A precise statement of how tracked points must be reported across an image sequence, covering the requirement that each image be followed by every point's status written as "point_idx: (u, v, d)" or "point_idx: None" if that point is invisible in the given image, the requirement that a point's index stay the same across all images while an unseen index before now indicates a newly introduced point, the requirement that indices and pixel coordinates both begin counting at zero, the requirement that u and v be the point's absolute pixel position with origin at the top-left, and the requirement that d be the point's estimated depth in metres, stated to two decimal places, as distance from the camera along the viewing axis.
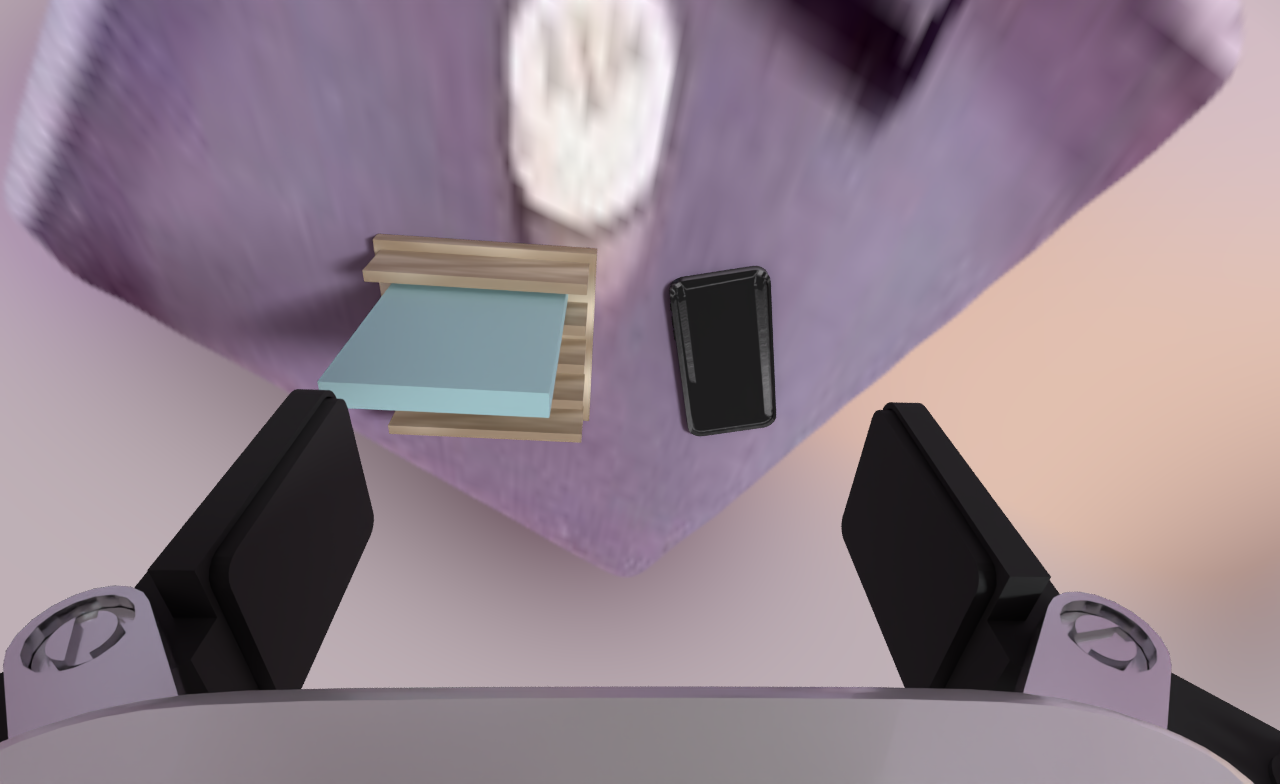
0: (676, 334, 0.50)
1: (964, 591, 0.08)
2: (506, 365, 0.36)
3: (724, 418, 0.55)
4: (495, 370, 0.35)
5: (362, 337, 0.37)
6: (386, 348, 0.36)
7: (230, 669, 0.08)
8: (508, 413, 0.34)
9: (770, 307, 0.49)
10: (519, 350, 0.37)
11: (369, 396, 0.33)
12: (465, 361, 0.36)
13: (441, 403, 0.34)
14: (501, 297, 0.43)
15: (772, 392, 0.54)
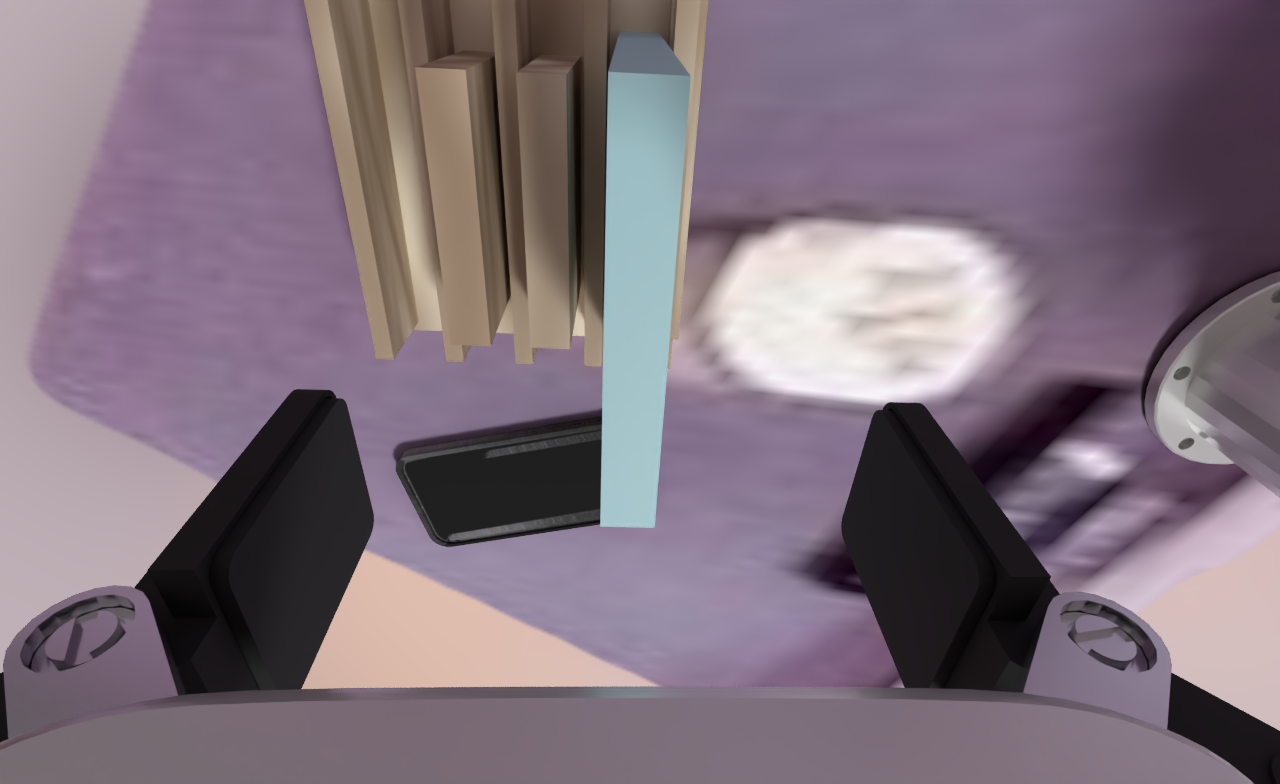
0: (559, 432, 0.37)
1: (964, 591, 0.08)
2: None
3: (433, 494, 0.40)
4: None
5: None
6: None
7: (230, 669, 0.08)
8: (607, 468, 0.17)
9: None
10: None
11: (642, 204, 0.14)
12: None
13: (628, 356, 0.16)
14: None
15: (486, 538, 0.42)
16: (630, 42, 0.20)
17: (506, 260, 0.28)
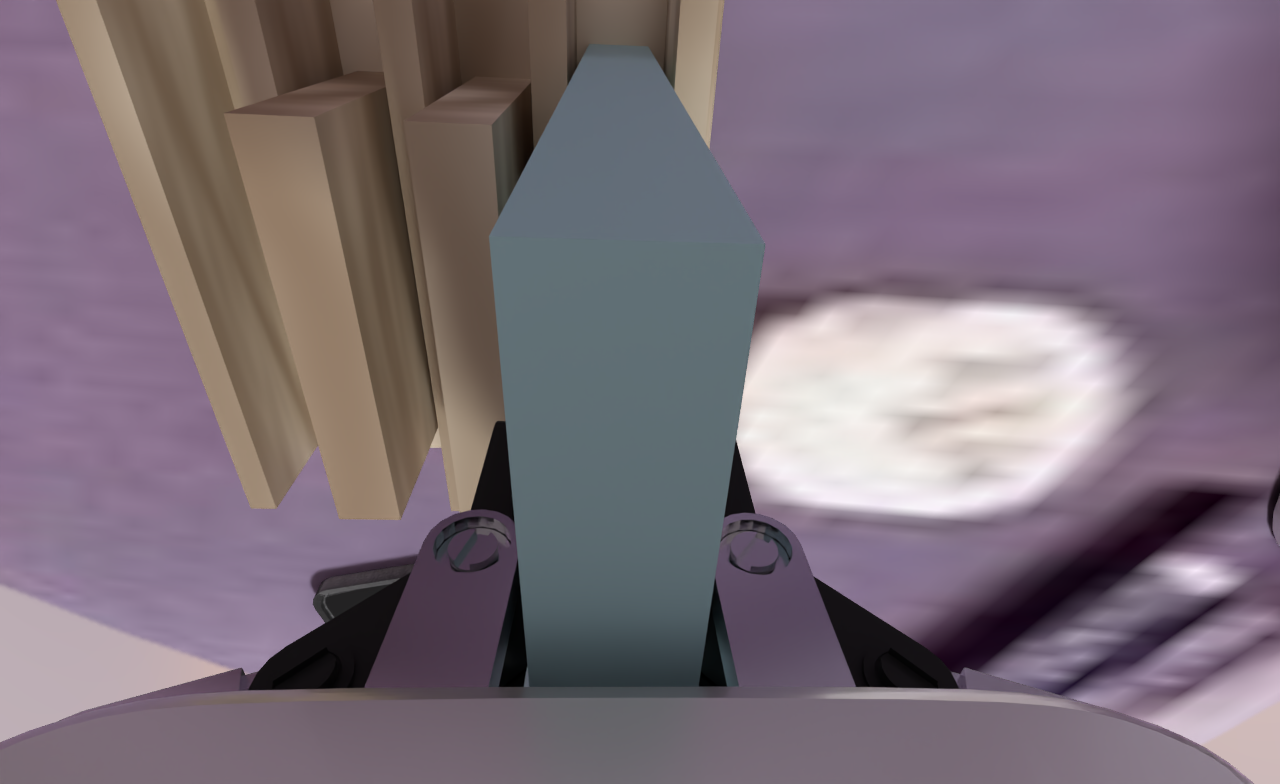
0: None
1: None
2: None
3: None
4: None
5: None
6: None
7: None
8: None
9: None
10: None
11: (619, 548, 0.05)
12: None
13: None
14: None
15: None
16: (599, 71, 0.11)
17: None
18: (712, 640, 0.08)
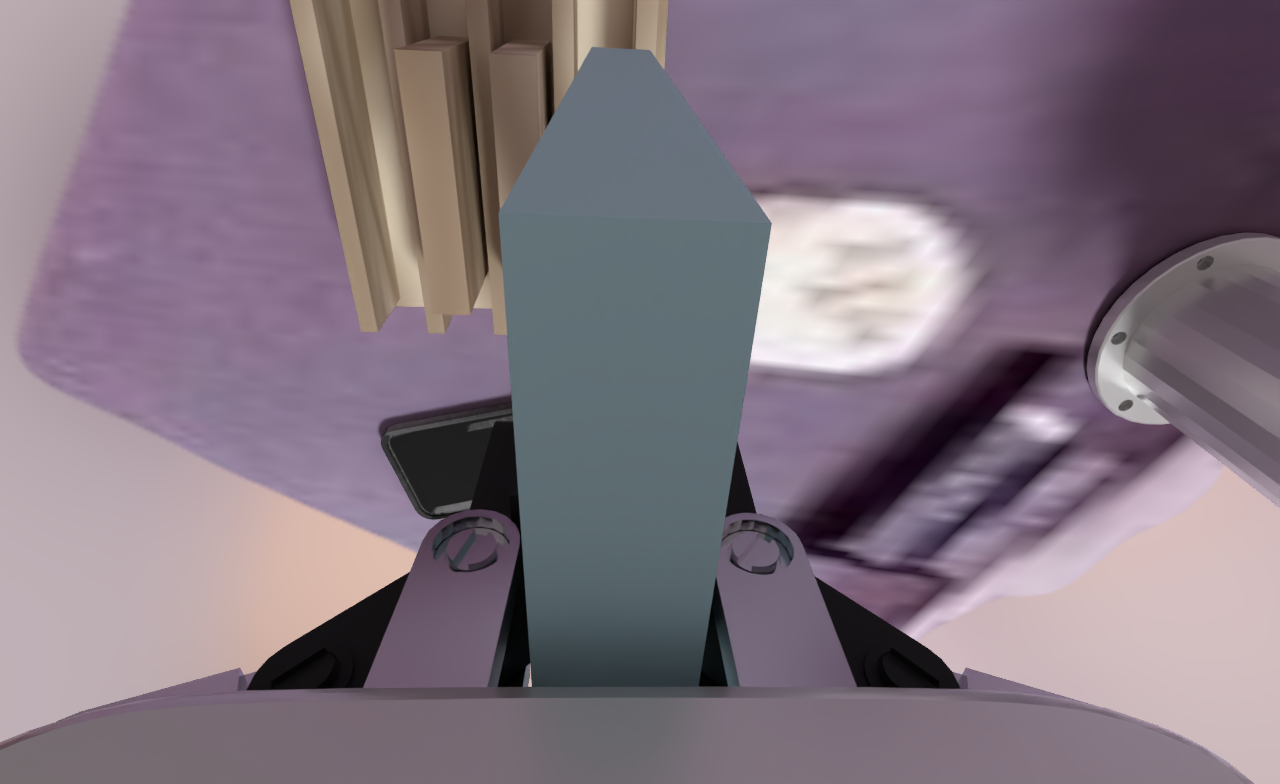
0: None
1: None
2: None
3: (418, 468, 0.41)
4: None
5: None
6: None
7: None
8: None
9: None
10: None
11: (622, 533, 0.05)
12: None
13: None
14: None
15: None
16: (602, 71, 0.11)
17: (483, 236, 0.30)
18: (713, 640, 0.08)
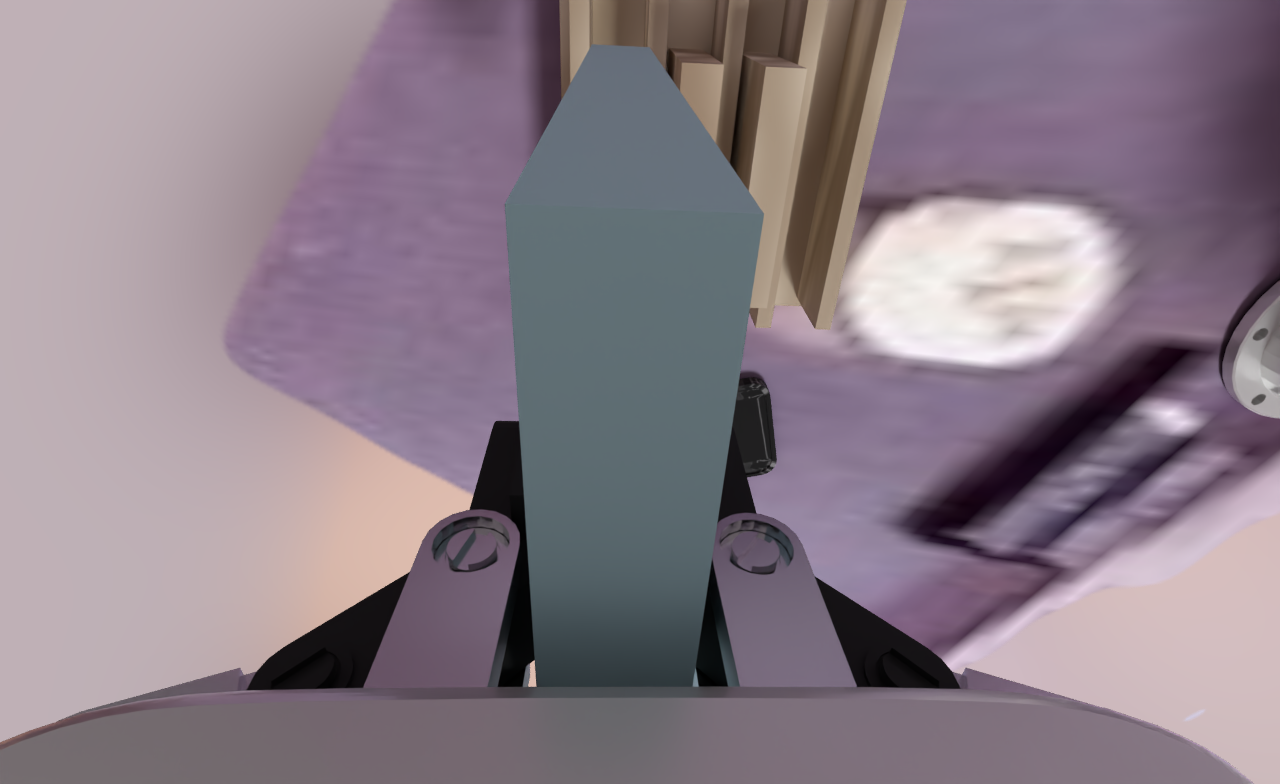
0: None
1: None
2: None
3: None
4: None
5: None
6: None
7: None
8: None
9: None
10: None
11: (623, 513, 0.05)
12: None
13: None
14: None
15: None
16: (602, 68, 0.12)
17: None
18: (713, 640, 0.08)
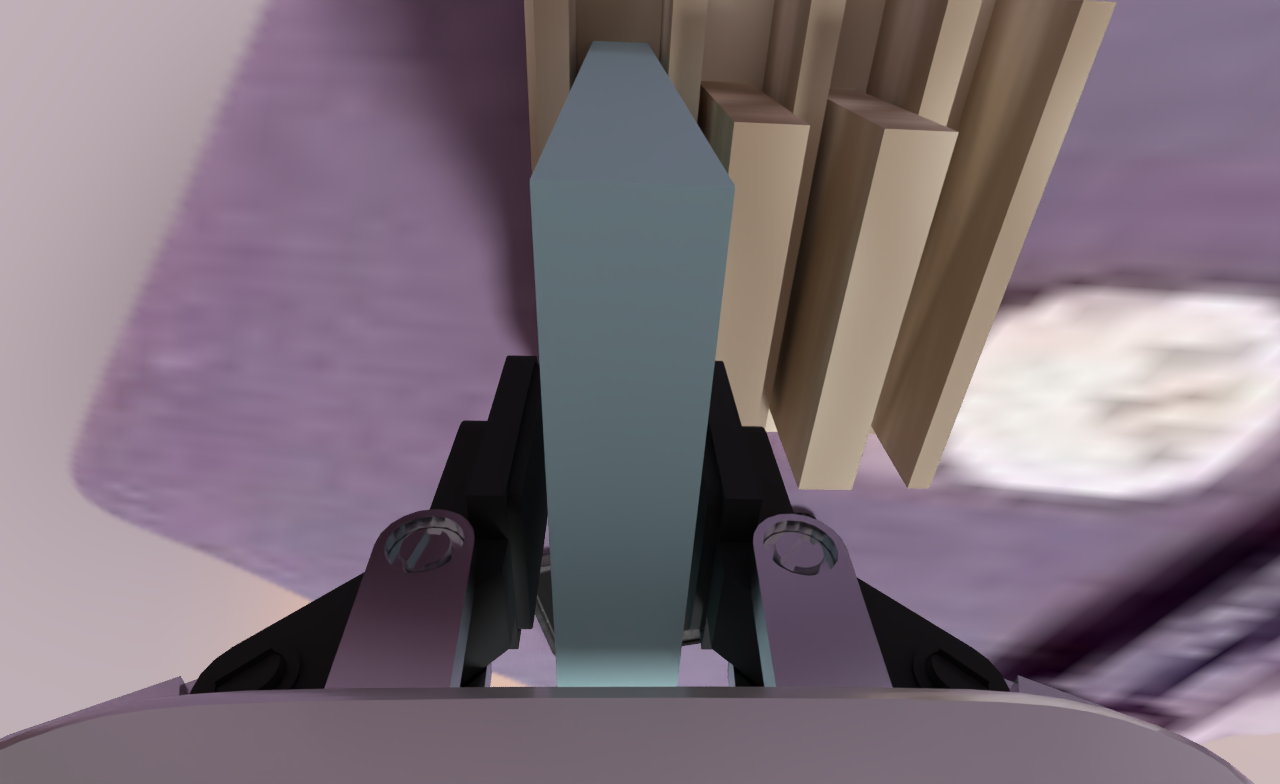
0: None
1: (702, 517, 0.09)
2: None
3: None
4: None
5: None
6: None
7: (510, 586, 0.09)
8: None
9: None
10: None
11: (624, 442, 0.06)
12: None
13: (603, 671, 0.08)
14: None
15: None
16: (604, 65, 0.12)
17: None
18: (755, 641, 0.08)
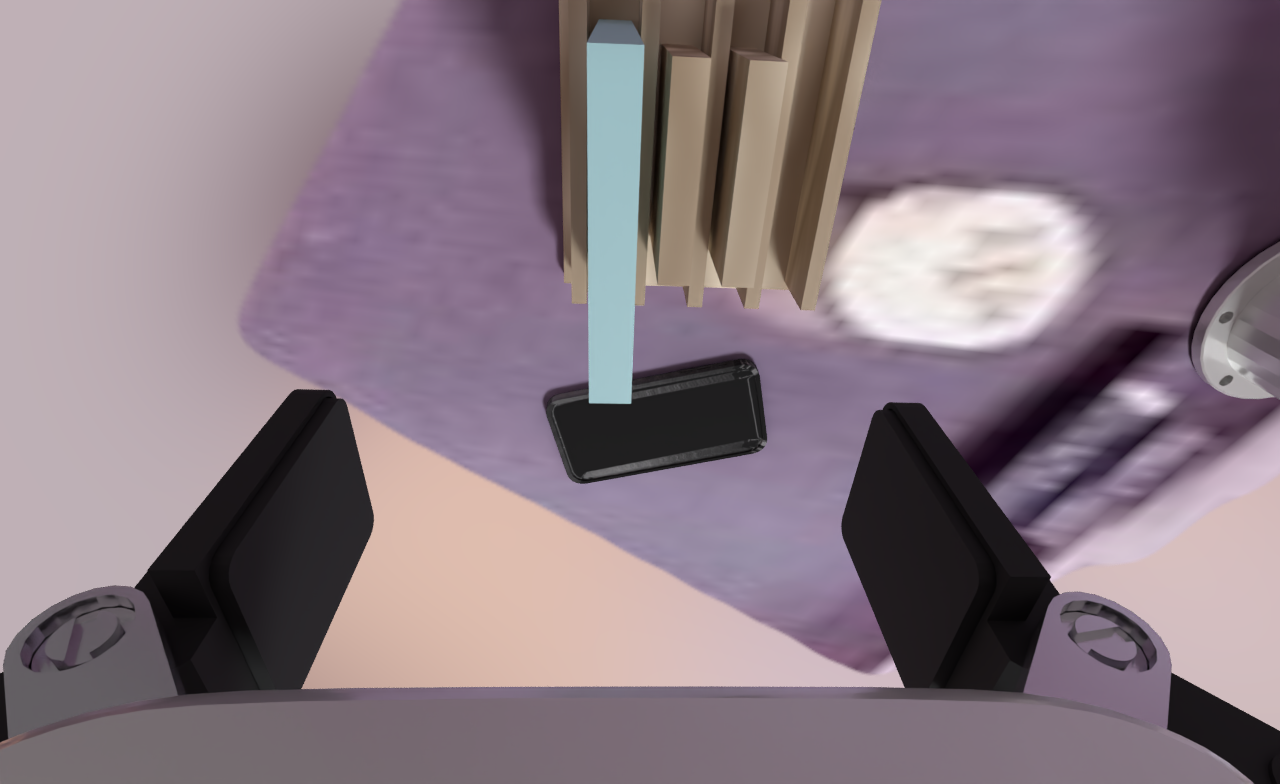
0: (692, 375, 0.43)
1: (964, 591, 0.08)
2: None
3: (575, 434, 0.45)
4: None
5: None
6: None
7: (230, 669, 0.08)
8: (593, 352, 0.23)
9: (723, 457, 0.47)
10: None
11: (614, 139, 0.19)
12: None
13: (606, 258, 0.21)
14: None
15: (616, 475, 0.47)
16: (606, 26, 0.25)
17: None
18: None
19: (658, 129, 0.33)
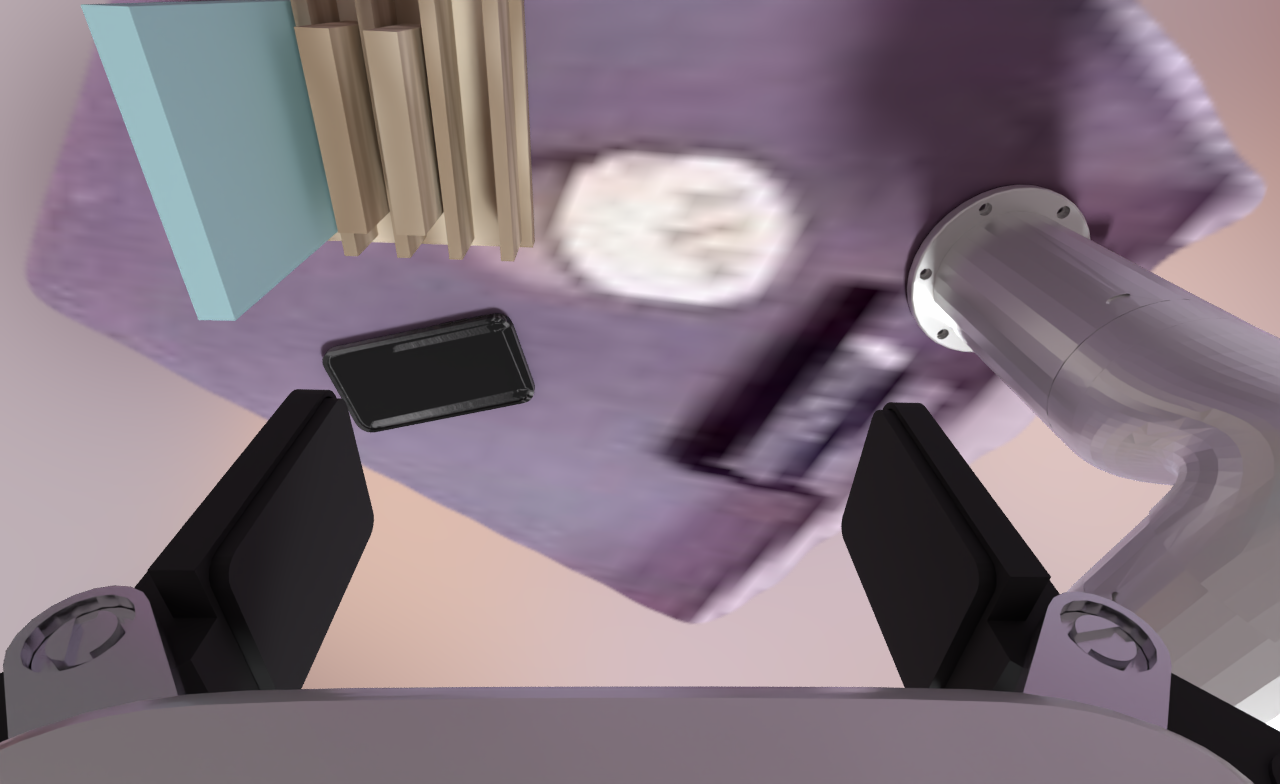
0: (449, 327, 0.47)
1: (964, 591, 0.08)
2: (247, 243, 0.29)
3: (355, 385, 0.49)
4: (236, 236, 0.28)
5: (212, 21, 0.26)
6: (211, 70, 0.26)
7: (230, 669, 0.08)
8: (184, 273, 0.27)
9: (497, 407, 0.51)
10: (267, 240, 0.31)
11: (133, 86, 0.23)
12: (233, 189, 0.28)
13: (165, 189, 0.25)
14: (316, 161, 0.36)
15: (401, 424, 0.52)
16: None
17: None
18: None
19: None
